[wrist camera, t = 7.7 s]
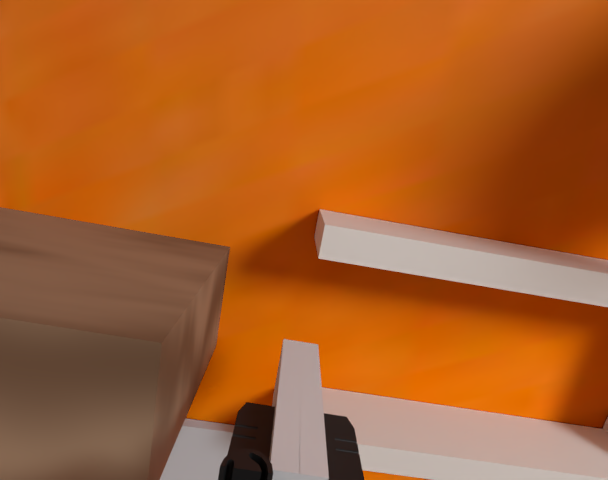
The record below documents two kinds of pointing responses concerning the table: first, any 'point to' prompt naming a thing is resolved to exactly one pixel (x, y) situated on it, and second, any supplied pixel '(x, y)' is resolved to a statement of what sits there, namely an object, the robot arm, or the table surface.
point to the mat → (198, 451)
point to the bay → (452, 420)
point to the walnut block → (100, 345)
